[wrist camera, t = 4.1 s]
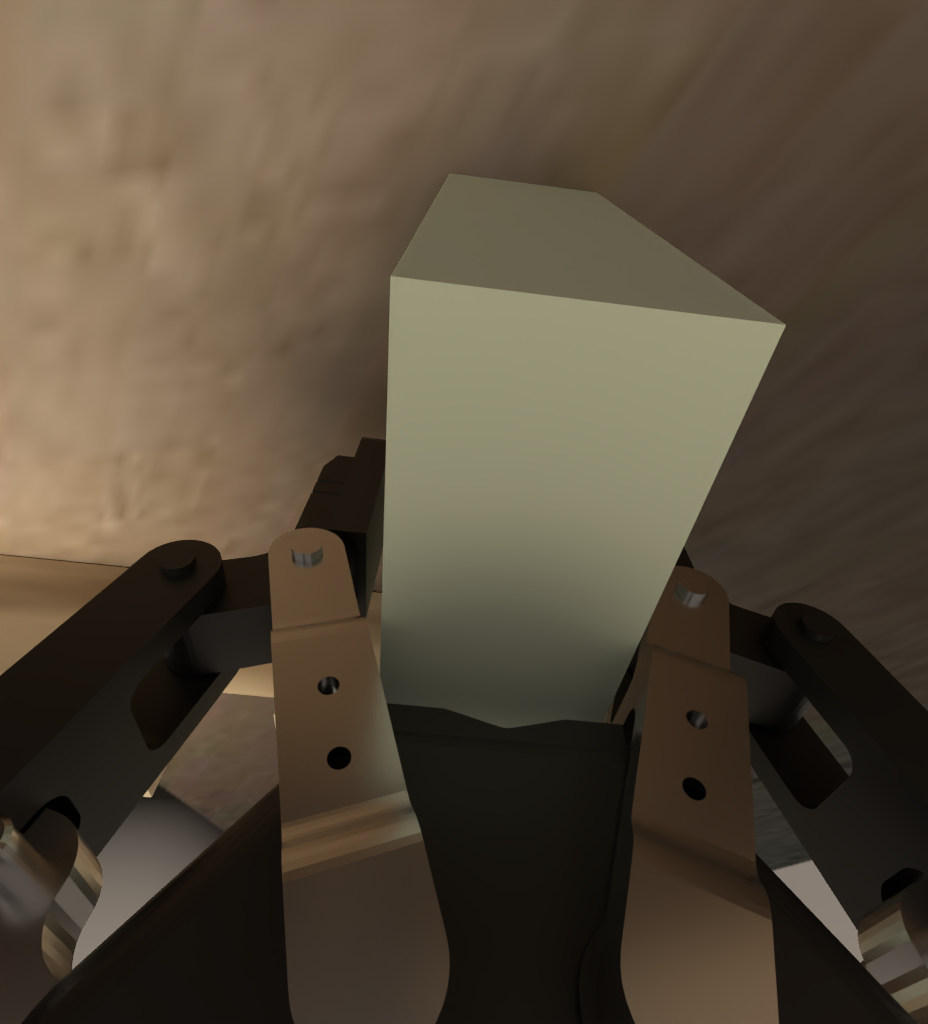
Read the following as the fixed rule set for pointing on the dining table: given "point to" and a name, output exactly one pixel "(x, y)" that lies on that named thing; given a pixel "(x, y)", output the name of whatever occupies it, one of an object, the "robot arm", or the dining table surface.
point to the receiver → (69, 586)
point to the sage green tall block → (546, 444)
